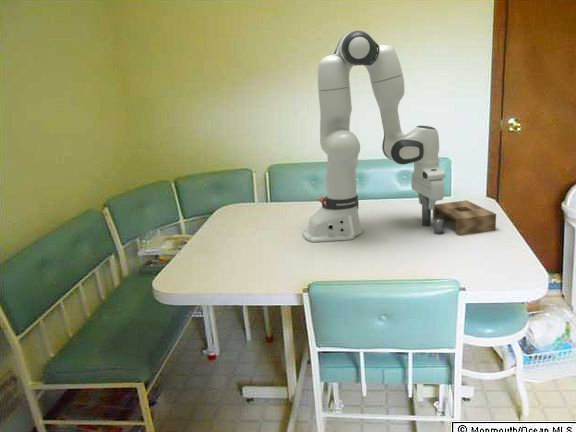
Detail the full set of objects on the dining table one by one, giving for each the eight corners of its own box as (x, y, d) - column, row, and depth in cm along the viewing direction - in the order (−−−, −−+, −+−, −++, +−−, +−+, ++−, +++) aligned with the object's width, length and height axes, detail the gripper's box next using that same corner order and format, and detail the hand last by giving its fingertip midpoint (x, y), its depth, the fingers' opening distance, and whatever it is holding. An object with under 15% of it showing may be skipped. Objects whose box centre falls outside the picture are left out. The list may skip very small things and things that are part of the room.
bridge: (458, 235, 170) (458, 219, 168) (432, 219, 189) (432, 204, 187) (495, 230, 172) (496, 214, 170) (466, 214, 191) (466, 200, 189)
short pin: (436, 235, 172) (436, 221, 171) (432, 232, 175) (432, 219, 174) (444, 233, 173) (445, 220, 171) (440, 231, 176) (440, 217, 174)
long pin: (424, 226, 182) (424, 190, 178) (420, 224, 185) (420, 188, 181) (432, 225, 182) (432, 189, 178) (428, 223, 185) (428, 187, 181)
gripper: (406, 166, 187) (407, 200, 191) (430, 176, 167) (430, 214, 171) (422, 164, 188) (422, 198, 192) (447, 174, 168) (447, 212, 172)
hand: (426, 206), depth 181 cm, fingers open, 6 cm apart
